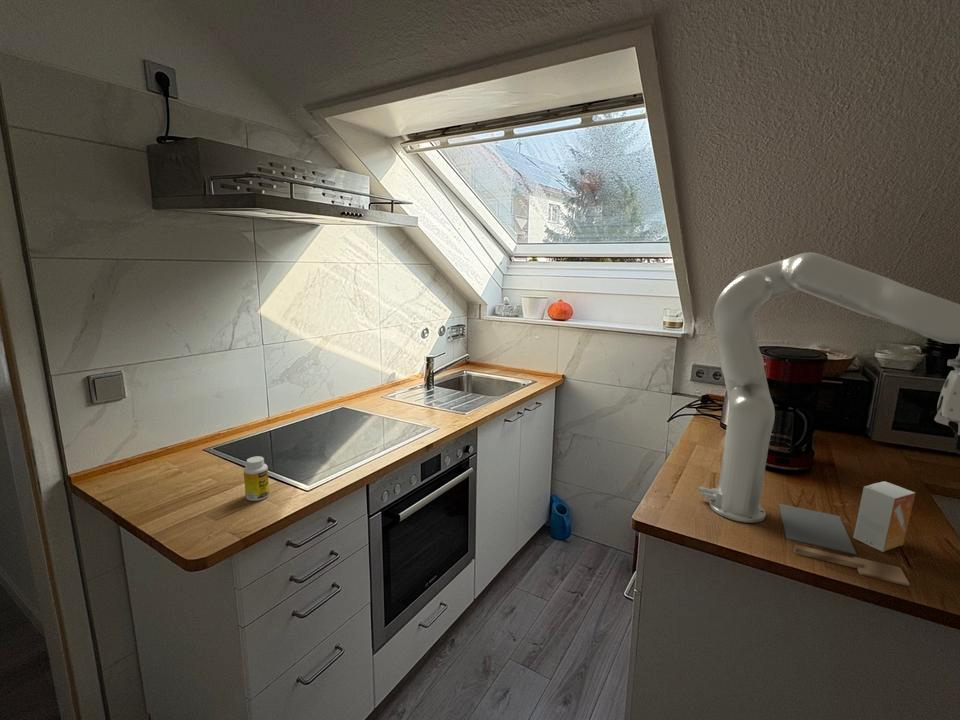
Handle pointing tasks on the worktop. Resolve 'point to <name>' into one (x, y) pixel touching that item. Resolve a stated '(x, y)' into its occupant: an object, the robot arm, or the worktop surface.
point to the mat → (815, 528)
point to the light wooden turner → (858, 565)
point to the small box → (883, 515)
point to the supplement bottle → (256, 479)
